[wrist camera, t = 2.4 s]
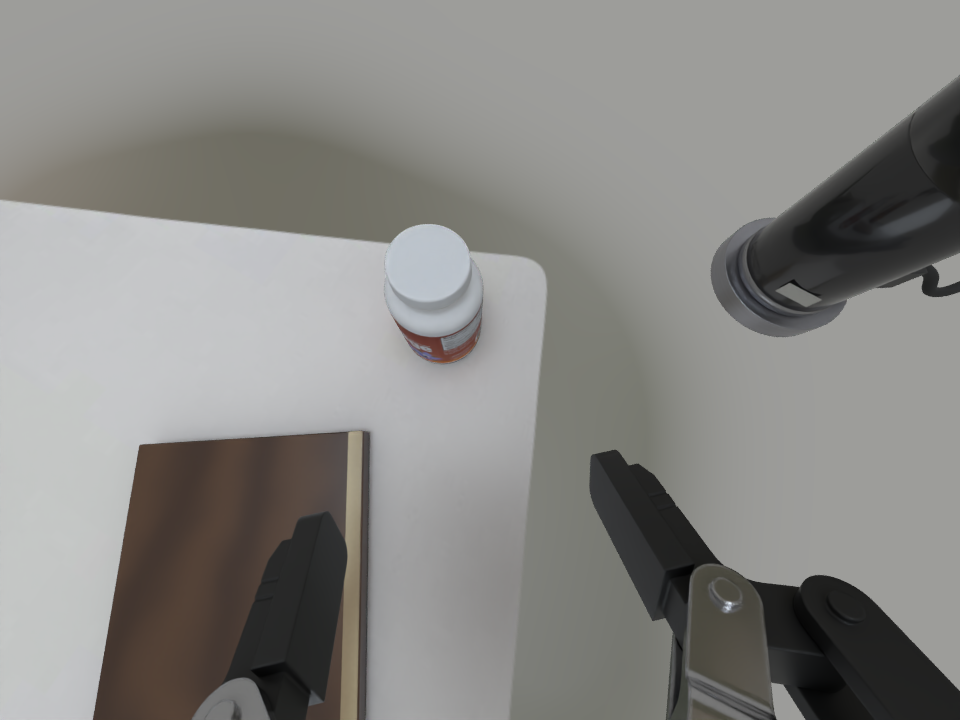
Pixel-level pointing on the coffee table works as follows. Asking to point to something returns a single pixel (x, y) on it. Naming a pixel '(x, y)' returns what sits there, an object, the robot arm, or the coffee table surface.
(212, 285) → the coffee table surface
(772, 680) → the robot arm
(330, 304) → the coffee table surface
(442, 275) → the pill bottle
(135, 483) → the board
